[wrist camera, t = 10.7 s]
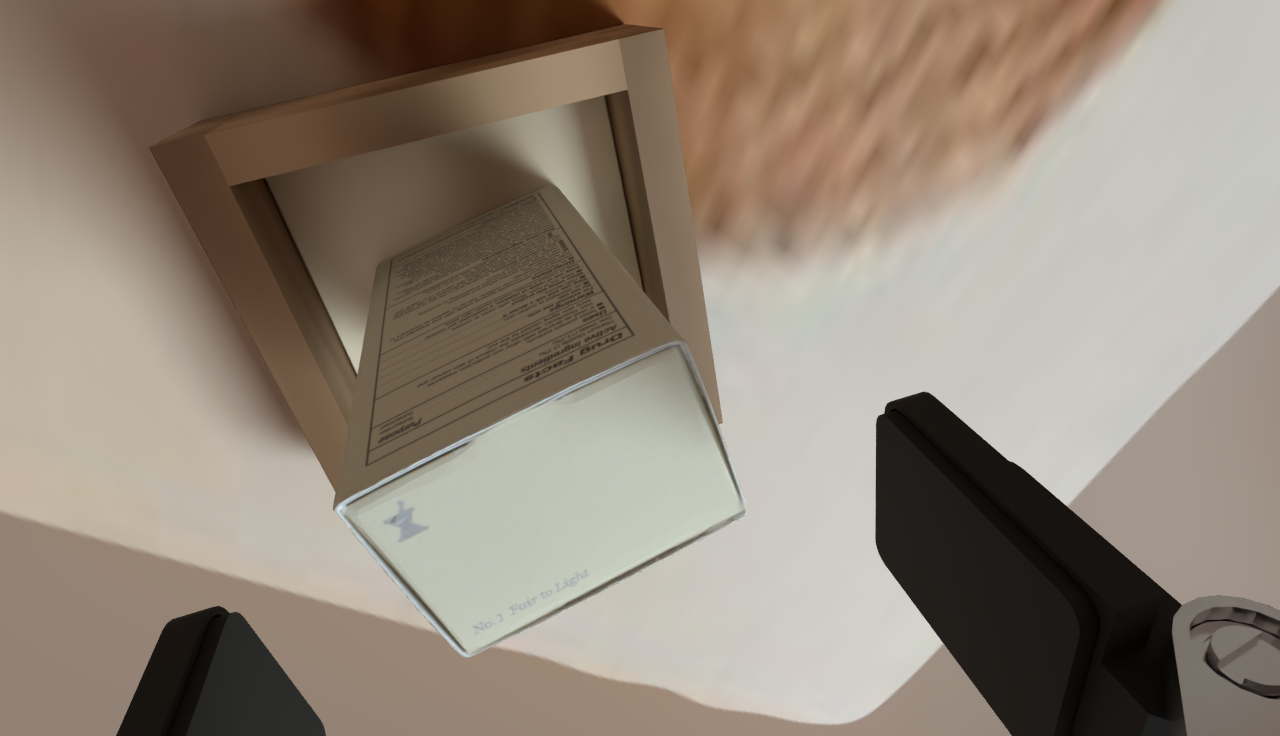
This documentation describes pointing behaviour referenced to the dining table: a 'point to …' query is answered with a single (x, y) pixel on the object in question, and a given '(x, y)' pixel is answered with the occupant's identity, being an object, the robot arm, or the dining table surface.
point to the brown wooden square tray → (434, 195)
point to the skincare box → (524, 426)
